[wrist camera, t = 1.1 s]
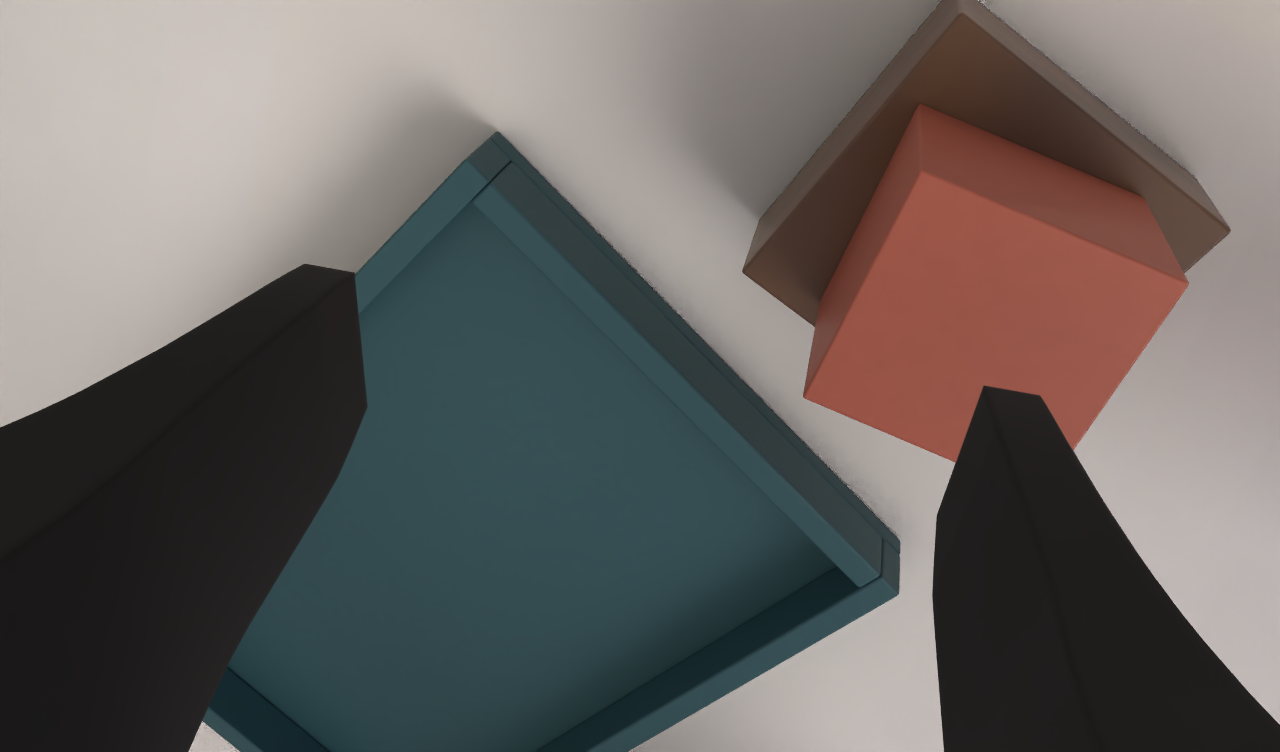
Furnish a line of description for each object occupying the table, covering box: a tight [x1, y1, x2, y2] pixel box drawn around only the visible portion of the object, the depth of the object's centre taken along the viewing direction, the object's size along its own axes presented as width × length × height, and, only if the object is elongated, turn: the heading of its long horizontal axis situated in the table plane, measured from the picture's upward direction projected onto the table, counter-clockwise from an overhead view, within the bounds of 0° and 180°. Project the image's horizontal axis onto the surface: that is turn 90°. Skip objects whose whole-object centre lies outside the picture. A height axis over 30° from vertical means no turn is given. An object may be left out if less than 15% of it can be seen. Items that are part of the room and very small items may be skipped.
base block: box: [742, 0, 1231, 327], centre depth 23 cm, size 6×6×3 cm
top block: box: [803, 104, 1189, 462], centre depth 20 cm, size 4×4×4 cm
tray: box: [202, 132, 900, 752], centre depth 31 cm, size 14×20×2 cm
